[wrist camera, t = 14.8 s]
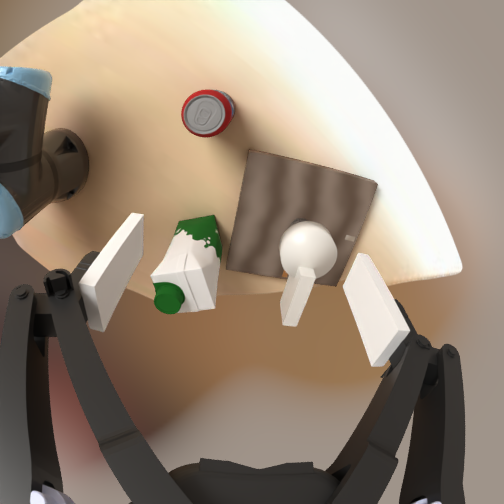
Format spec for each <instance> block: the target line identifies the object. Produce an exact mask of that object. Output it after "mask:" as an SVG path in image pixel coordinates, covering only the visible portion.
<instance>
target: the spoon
mask: <svg viewBox="0 0 504 504" xmlns="http://www.w3.org/2000/svg"><path fill="white" fill-rule="evenodd" d="M279 251H280V257H281V263H282V266H283V268H284V270H285V271H286V272H287V273H288V274H289V277H288V280H287V283H286V286H285V289H284V292H283V295H282V298H281V301H280V306H281V315H282V324H283V325H286V326H297V324H298V321H299V319H300V317H301V314H302V312H303V309H304V307H305V304H306V302H307V299H308V297H309V294H310V292H311V289H312V287H313V284H314V282H315V279H317V278H319V277H321V276H323V275H325V274H326V273H327V272H329V271H330V270H331V268H332V267H333V266H334V264H335V262H336V259H337V248H336V245H335V243H334V241H333V239H332V237H331V235H330V233H329V231H328V230H327V229H326V228H325V227H324V226H323V225H321V224H319V223H317V222H313V221H303V222H299V223H296V224H294V225H292V226H291V227H289V228H288V229H287V230H286V231H285V232H284V233H283V235H282V237H281V239H280V243H279Z"/></svg>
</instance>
